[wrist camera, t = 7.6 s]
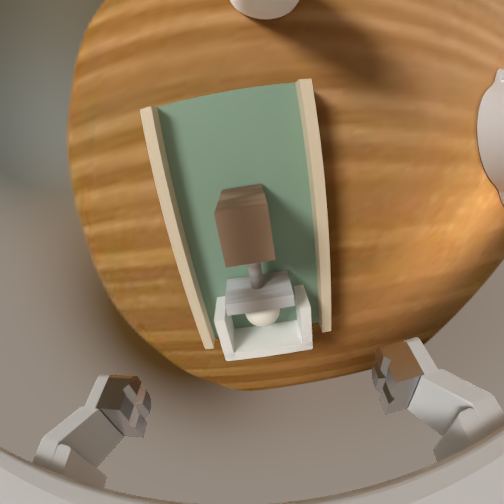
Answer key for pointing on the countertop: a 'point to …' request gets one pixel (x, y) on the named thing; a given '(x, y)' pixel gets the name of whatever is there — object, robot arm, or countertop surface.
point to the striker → (250, 252)
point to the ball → (263, 317)
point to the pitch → (236, 175)
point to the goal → (265, 332)
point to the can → (264, 8)
